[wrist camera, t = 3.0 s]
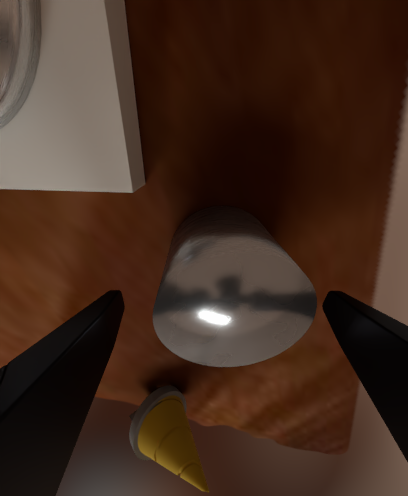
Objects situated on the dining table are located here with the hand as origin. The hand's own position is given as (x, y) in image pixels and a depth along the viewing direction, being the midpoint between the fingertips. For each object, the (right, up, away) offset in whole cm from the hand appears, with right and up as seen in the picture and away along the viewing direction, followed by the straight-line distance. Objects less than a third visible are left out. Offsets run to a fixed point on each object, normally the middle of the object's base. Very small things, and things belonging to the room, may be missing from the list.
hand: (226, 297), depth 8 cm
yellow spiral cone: (-5, -12, +11) cm, 17 cm away
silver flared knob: (0, +2, +3) cm, 4 cm away
